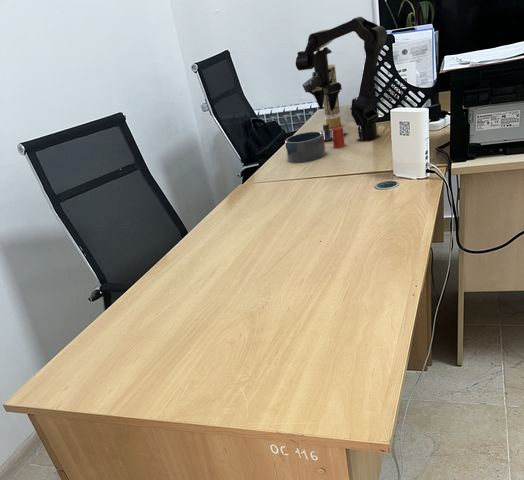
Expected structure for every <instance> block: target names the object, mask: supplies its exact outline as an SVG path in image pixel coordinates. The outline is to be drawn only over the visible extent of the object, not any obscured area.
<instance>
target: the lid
mask: <svg viewBox="0 0 524 480" xmlns="http://www.w3.org/2000/svg"><path fill="white" fill-rule="evenodd" d="M320 132H322V133H323V136H324V142H327V141H333V137H332V128H329V124H326V123H324V124H322V130H321V131H320ZM343 134H344V135H346V134H347V132H346V130H345V129H343Z"/></svg>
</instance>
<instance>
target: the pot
mask: <svg viewBox="0 0 524 480" xmlns="http://www.w3.org/2000/svg"><path fill="white" fill-rule="evenodd" d="M284 144H285V150H286V156H287V160H288V162H289V163H294V164H302V163H308V162H312V161H316V160H319V159H322V158H323V157H325V155H326V145H325V141H324V136H323V133H322V132H321V131H306V132H301V133H297V134H293V135H291V136H289V137H287V138H286V139H285V140H284Z"/></svg>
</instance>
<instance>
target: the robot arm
mask: <svg viewBox="0 0 524 480" xmlns="http://www.w3.org/2000/svg"><path fill="white" fill-rule="evenodd" d="M353 32H354V33H356V35H357V37H359V39H361V40H362V41H363V50H364V54H365V56H364V62H363V68H362V73H361V79H360V84H359V91H358V95H357V96H356V97H354V98H352V100H351V107H350V109H349V111H350V115H351V117H352V118H353V120H354V123H355V124H356V126H357V133H358V138H357V141H358V142H359V141H360V142H362V141H364V142H365V141H368V142H369V141H373V140H375V139H377V138H378V137H380V134H378V128H377V120H378V119H379V112H377V111H376V110H375V108H374V102H373V98H372V91H373V86H374V82H375V77H376V72H377V66H378V62H379V56H380V54H381V52H382V50H383V48H384V47H385V44H386V41H387V38H388V31H387V29H386V28H385V26H382V25H378V24H376V23H375V22H373V21H370V20H367V19H366V18H364V17H362V16H357V17H354V18H352V19H351V20H349V21H347V22H344V23H342V24H339V25H337V26H334V27H332V28H328V29H322V30H319V31H316V32H313V33H310V34H309V36H308V40H307V43H306V47H305V48H304V50H300V51H298V52H297V53H296V54H297V56H296V59H295V67H296V69H297V70H298V71H309V70H313V72H312V74H311V75H312V76H311V78H309V79H308V80H306V81H305V82H304V83H302V85H301V86H302V88H303V90H304V92H305V93H308V94H310V95H312V96H313V97H314V98H315V101H316V103H317V106H318V107H319V110H323V109H324V105H323V102H324V95H325V96H326V97H327V98H328V102H329V106H330V110H331V111H332V110H334V106H335V103H336V100H337V97H338V98H339V94H340V93H341V91H342V90H343V89H342V84H341V83H340V82H338V81H337V82H333V83H332V80H330V75H329V72H331V69H329V66H328V65H329V60H328V55H330V54H332V53H333V51H332V50H331V49H330V48H329V47H328V45H330V43H332V42H333V41H334V40H336V39H339V38H341V37H344V36H346V35H349V34H351V33H353ZM324 92H325V93H326V94H324Z"/></svg>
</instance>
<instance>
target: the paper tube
mask: <svg viewBox="0 0 524 480" xmlns="http://www.w3.org/2000/svg"><path fill="white" fill-rule="evenodd" d="M328 66H329V69H331V72H329V75H330V80H332V83H333V82H338V81H337V74H336V73H337V72H336V65H335V64H333V63H331V64H328ZM324 94H326V93H325V92H324ZM339 100H340V99H339V96H338V97H337V100H336V103H335V106H334V110H332V111H331V110H330V106H329V102H328V98H327V97H326V96H325V95H324V102H323V111H324V112H323V113H324V121H325V124H329V129H332V128H335V127H341V124H342V120H341V110H340V109H341V108H340V101H339Z"/></svg>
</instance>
